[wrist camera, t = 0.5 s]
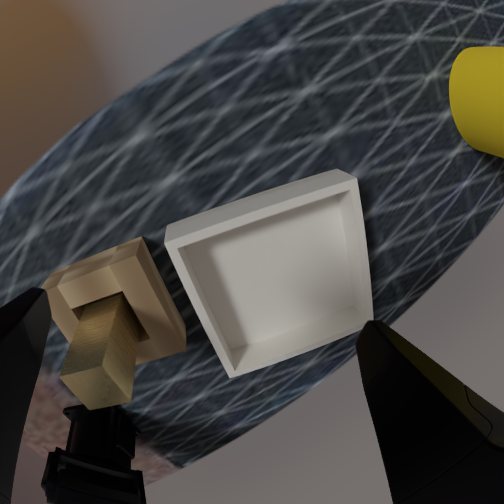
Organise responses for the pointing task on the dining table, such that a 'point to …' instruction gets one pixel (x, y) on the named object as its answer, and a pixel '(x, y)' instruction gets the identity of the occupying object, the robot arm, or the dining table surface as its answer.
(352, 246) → the tray
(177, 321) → the block
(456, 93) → the yellow toilet paper roll
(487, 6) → the dining table surface
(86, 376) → the pin
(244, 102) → the dining table surface
